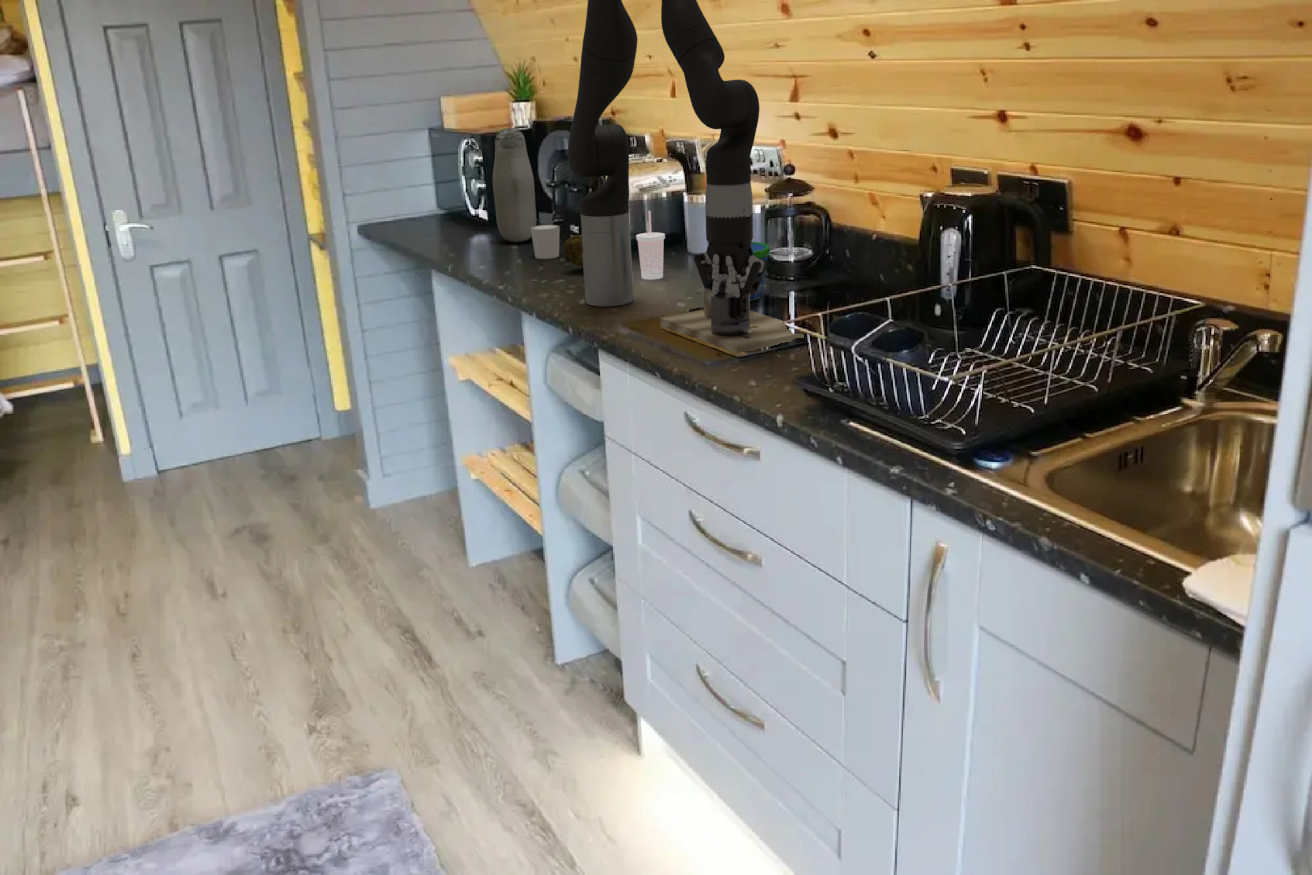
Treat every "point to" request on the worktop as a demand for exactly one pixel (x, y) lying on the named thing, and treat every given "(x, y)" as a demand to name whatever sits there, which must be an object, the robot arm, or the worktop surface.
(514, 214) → the grey bottle
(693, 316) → the base
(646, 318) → the worktop surface
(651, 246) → the beverage cup
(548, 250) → the white tapered cup
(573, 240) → the potato
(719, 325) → the dark grey rotary knob
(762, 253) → the snack cup
